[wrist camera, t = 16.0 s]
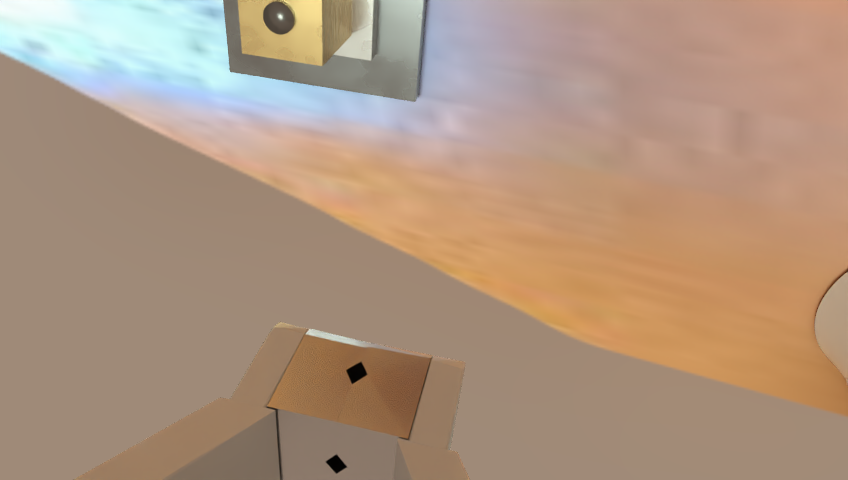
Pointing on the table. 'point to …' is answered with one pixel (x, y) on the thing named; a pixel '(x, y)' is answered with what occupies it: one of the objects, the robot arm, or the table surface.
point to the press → (351, 52)
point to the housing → (295, 28)
